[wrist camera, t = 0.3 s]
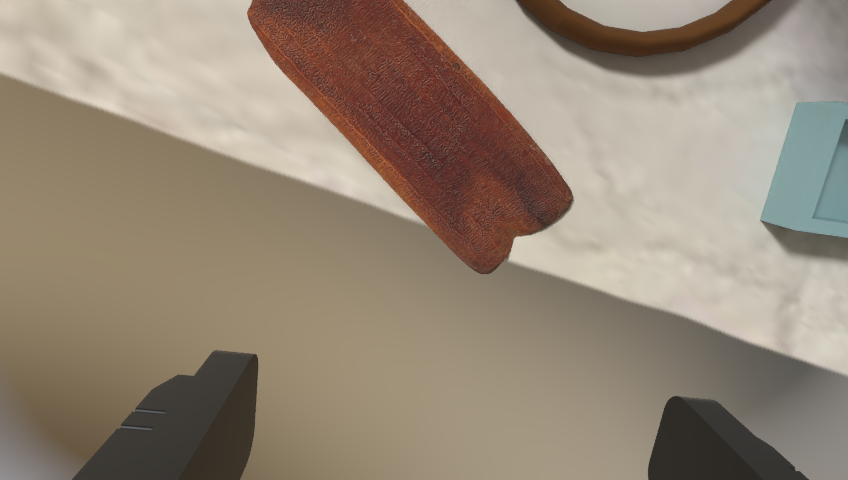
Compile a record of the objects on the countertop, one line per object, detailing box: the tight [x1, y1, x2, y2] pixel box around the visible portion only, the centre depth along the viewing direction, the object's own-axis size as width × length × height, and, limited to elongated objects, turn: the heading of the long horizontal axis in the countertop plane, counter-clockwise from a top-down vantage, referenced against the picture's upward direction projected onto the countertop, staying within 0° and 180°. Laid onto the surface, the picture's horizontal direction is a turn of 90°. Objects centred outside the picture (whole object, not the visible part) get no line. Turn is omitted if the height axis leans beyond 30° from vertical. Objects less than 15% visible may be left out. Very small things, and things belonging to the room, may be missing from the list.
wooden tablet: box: [247, 0, 572, 274], centre depth 36 cm, size 27×10×2 cm, turn 43°
